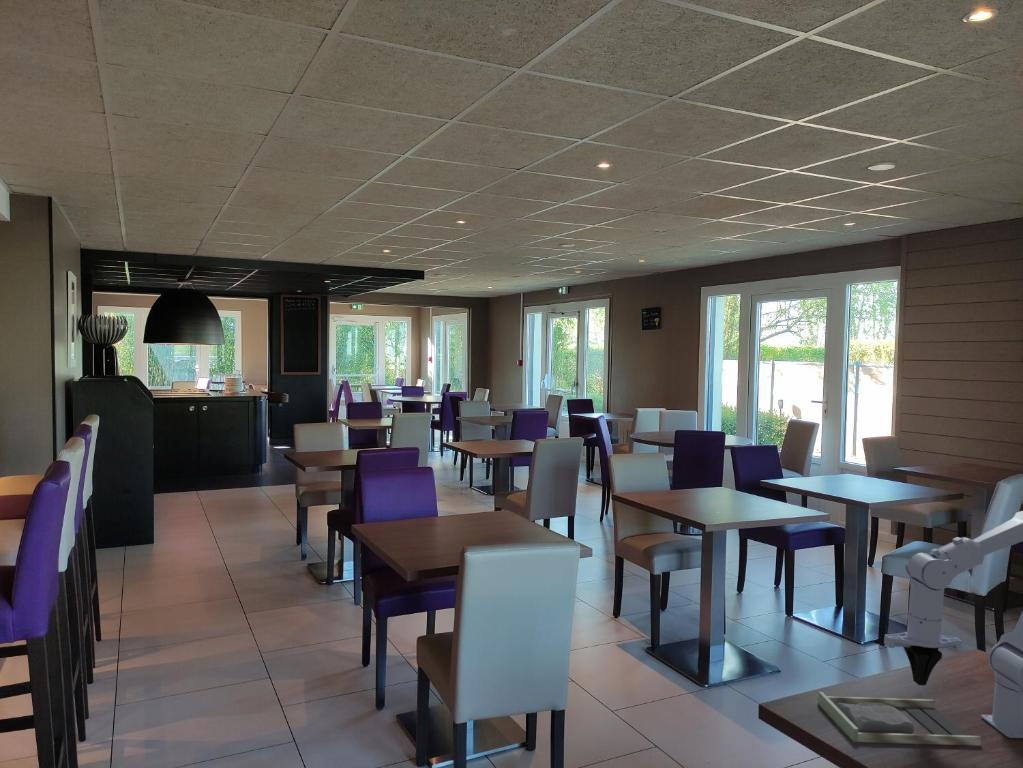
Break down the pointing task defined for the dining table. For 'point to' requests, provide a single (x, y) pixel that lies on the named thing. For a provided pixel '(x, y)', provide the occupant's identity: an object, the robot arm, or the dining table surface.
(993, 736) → the dining table surface
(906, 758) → the dining table surface
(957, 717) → the dining table surface
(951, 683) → the dining table surface
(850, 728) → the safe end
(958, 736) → the grey cream flat frame
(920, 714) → the tiles
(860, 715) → the stone block
